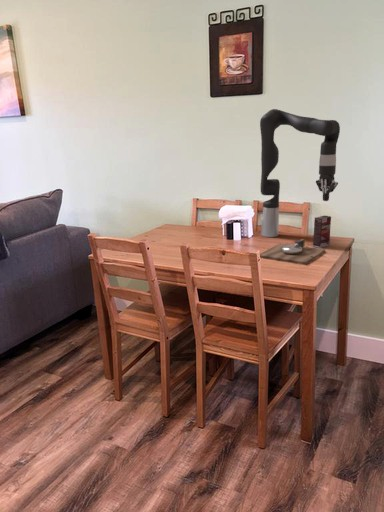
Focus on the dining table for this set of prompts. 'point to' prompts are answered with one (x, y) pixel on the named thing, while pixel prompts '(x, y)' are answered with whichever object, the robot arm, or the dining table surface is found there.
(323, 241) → the supplement box
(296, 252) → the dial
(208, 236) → the dining table surface
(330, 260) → the dining table surface
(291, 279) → the dining table surface
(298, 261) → the board
